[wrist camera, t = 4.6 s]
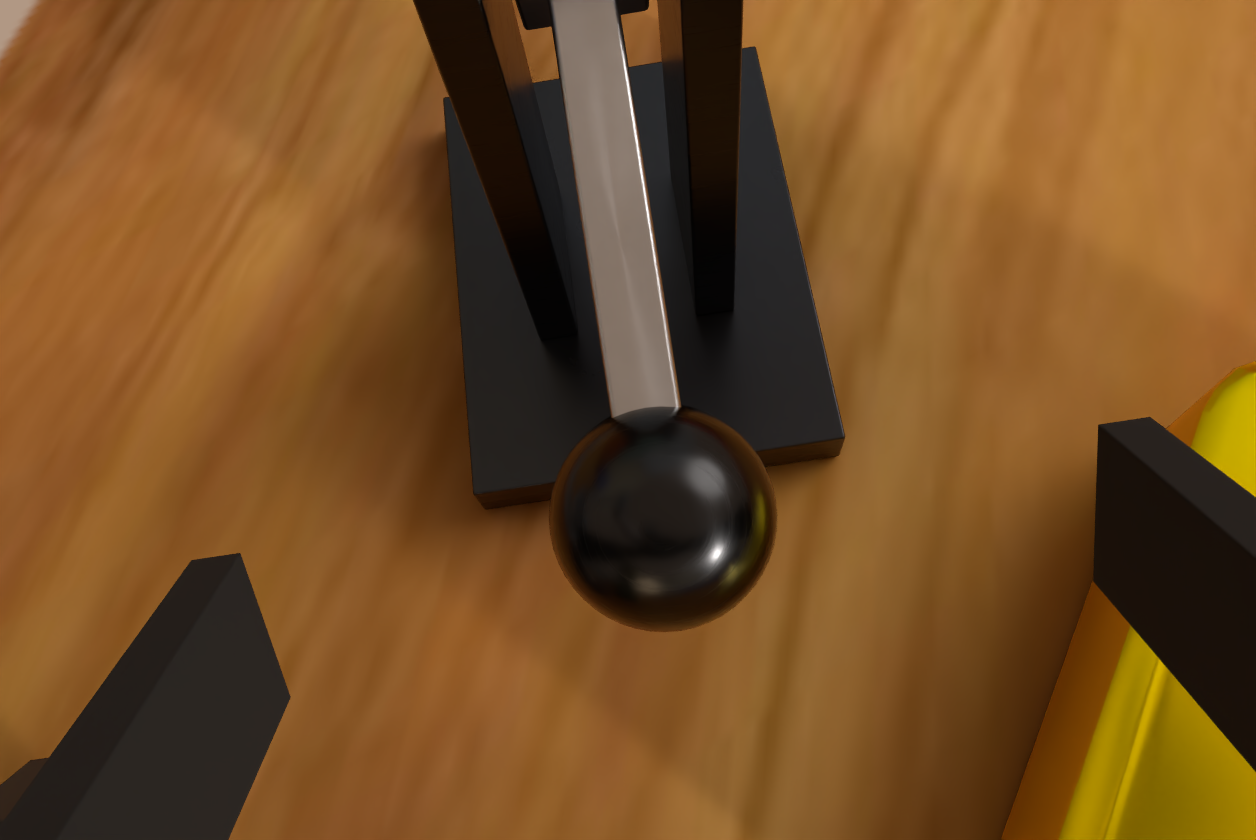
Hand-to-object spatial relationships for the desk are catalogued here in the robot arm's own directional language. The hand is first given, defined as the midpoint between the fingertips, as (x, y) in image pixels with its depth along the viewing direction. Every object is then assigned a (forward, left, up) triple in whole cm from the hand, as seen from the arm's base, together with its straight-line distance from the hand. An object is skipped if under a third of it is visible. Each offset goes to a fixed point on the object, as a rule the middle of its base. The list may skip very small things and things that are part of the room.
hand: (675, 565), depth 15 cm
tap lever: (-5, +3, 0) cm, 6 cm away
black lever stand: (-9, +5, -9) cm, 14 cm away
